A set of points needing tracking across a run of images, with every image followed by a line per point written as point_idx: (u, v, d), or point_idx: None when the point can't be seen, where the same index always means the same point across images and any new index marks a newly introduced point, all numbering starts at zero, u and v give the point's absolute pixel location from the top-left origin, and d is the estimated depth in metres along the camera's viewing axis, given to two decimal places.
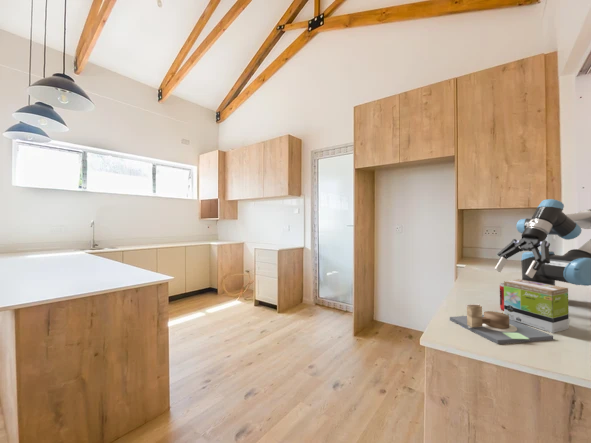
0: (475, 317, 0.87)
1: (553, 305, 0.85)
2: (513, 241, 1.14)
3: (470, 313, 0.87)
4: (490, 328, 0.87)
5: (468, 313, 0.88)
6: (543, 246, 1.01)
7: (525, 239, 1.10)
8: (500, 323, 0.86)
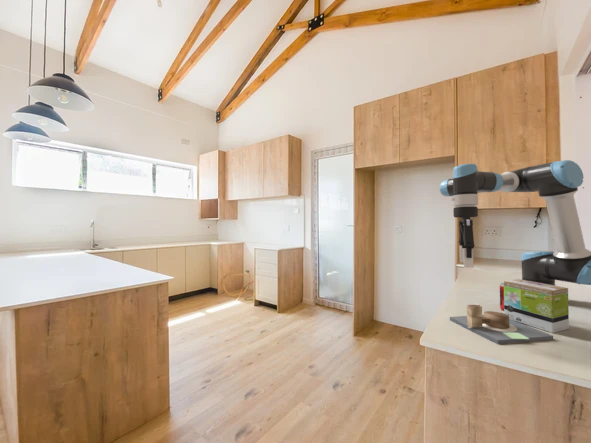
0: (475, 317, 0.87)
1: (553, 306, 0.85)
2: None
3: (470, 313, 0.87)
4: (490, 328, 0.87)
5: (468, 313, 0.88)
6: (464, 228, 0.88)
7: (461, 219, 0.96)
8: (500, 323, 0.86)
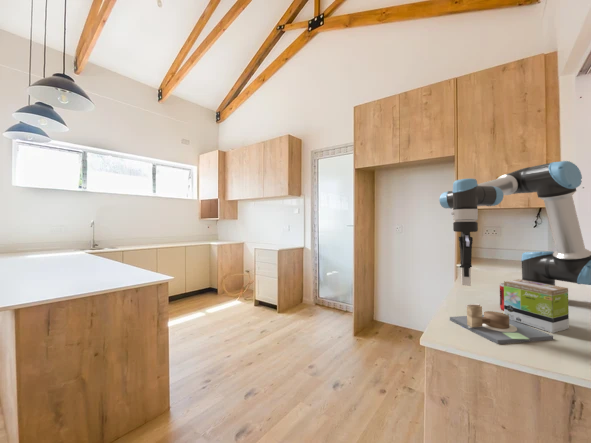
0: (475, 317, 0.87)
1: (553, 305, 0.85)
2: None
3: (470, 313, 0.87)
4: (490, 328, 0.87)
5: (468, 313, 0.88)
6: (463, 249, 0.90)
7: (461, 231, 0.96)
8: (500, 323, 0.86)
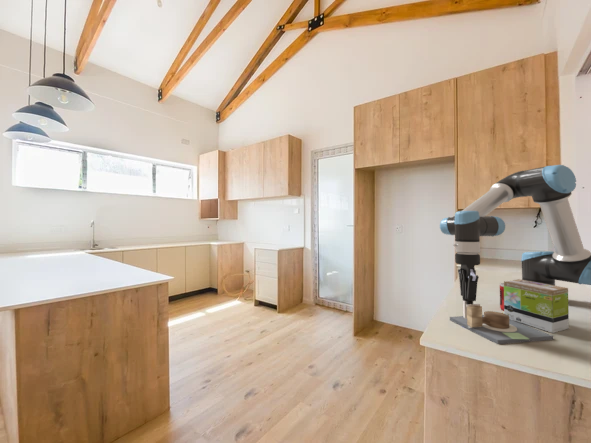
0: (475, 317, 0.87)
1: (553, 305, 0.85)
2: (459, 272, 0.97)
3: (470, 313, 0.87)
4: (490, 328, 0.87)
5: (468, 313, 0.88)
6: (468, 283, 0.88)
7: None
8: (500, 323, 0.86)
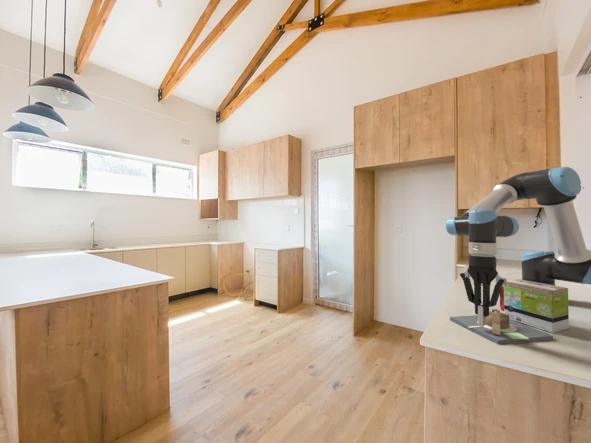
0: (500, 323, 0.82)
1: (553, 305, 0.85)
2: (464, 276, 0.89)
3: (498, 320, 0.81)
4: (490, 328, 0.87)
5: (494, 320, 0.81)
6: (497, 288, 0.81)
7: (472, 266, 0.87)
8: (507, 323, 0.86)
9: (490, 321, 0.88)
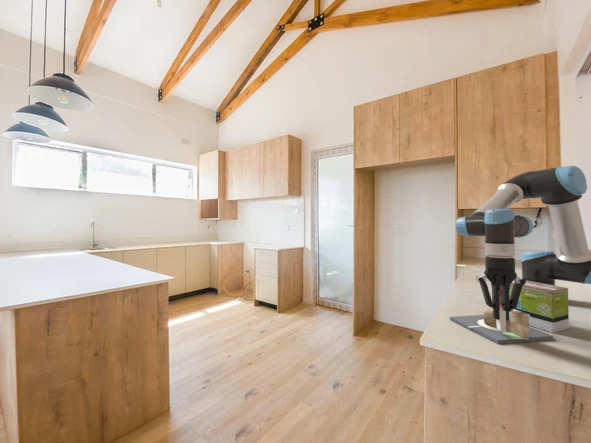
0: None
1: (553, 305, 0.85)
2: (483, 281, 0.82)
3: (527, 322, 0.79)
4: (490, 328, 0.87)
5: (524, 323, 0.79)
6: (520, 289, 0.80)
7: (492, 269, 0.82)
8: None
9: None
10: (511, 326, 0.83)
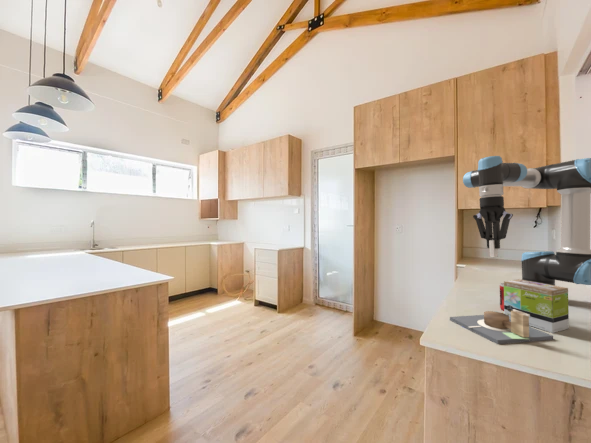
0: None
1: (553, 306, 0.85)
2: (476, 217, 1.03)
3: (527, 322, 0.79)
4: (490, 328, 0.87)
5: (524, 323, 0.79)
6: (505, 221, 0.94)
7: (483, 207, 1.01)
8: None
9: (500, 323, 0.86)
10: (511, 326, 0.83)
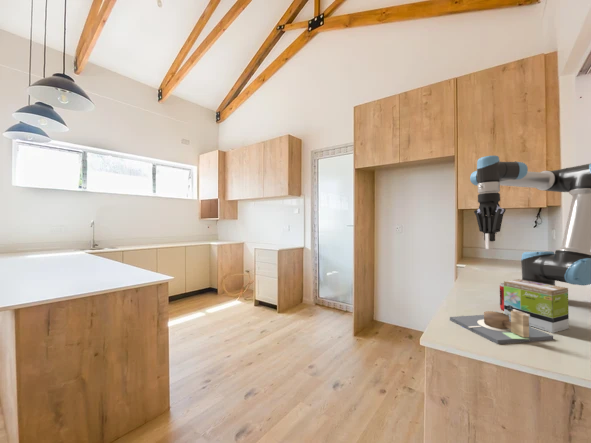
0: None
1: (553, 305, 0.85)
2: (476, 212, 1.12)
3: (527, 322, 0.79)
4: (490, 328, 0.87)
5: (524, 323, 0.79)
6: (497, 216, 1.03)
7: (481, 203, 1.10)
8: None
9: (500, 323, 0.86)
10: (511, 326, 0.83)
